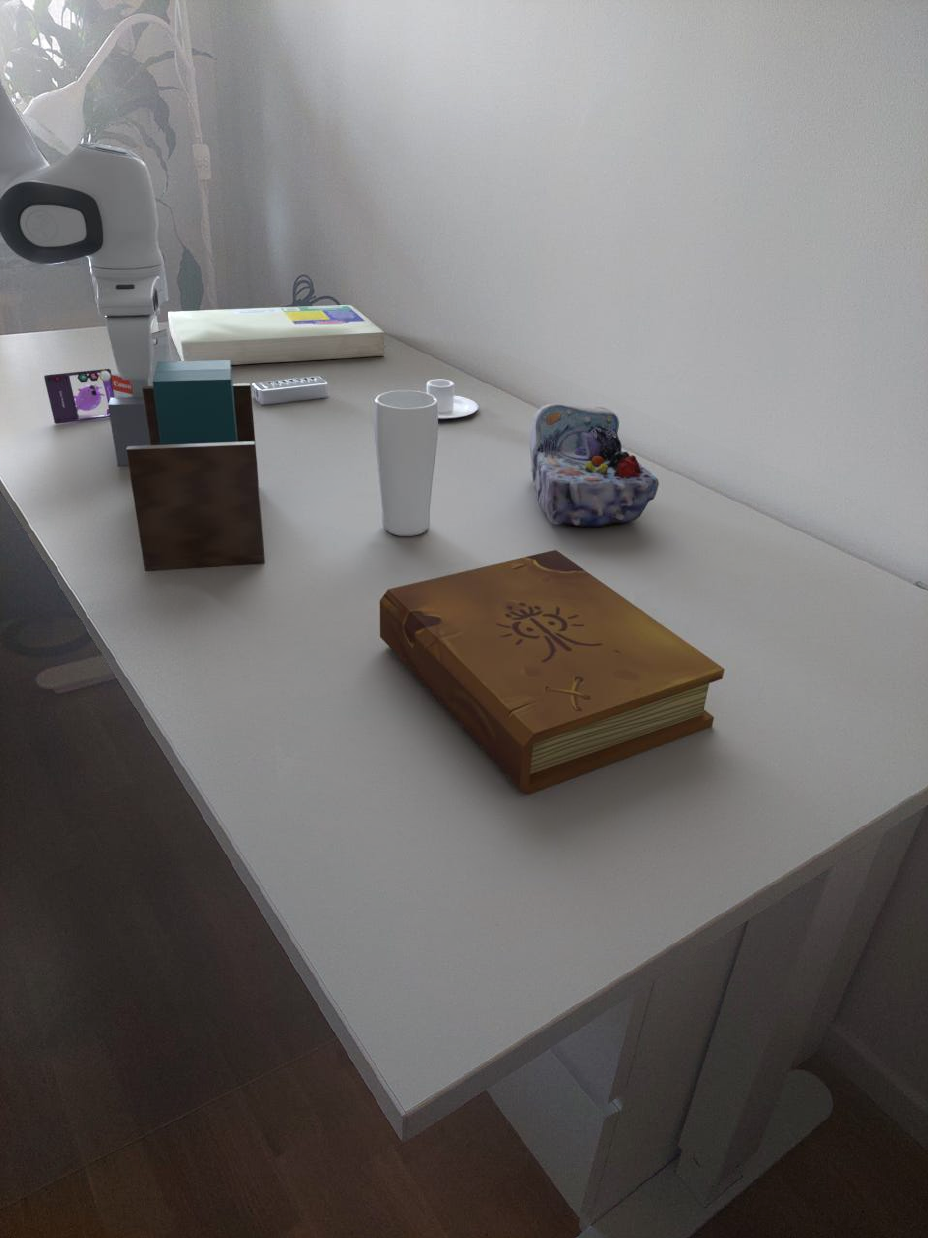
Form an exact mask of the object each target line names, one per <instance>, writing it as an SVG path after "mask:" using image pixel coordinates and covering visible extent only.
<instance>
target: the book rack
mask: <svg viewBox="0 0 928 1238" xmlns="http://www.w3.org/2000/svg"><path fill="white" fill-rule="evenodd" d="M142 390H143V397H144V404H145V411H146V418H147V425H148V432H149V439H150V445H144V446H127V449H126V451H127V458H128V464H129V465H128V469H129V476H130V481H131V490H132V495H133V502H134V503H133V504H134V509H135V515H136V521H137V529H138V534H139V542H140V547H141V554H142V560H143V566H144V571H145V572H150V571H166V570H179V569H194V568H195V569H196V568H210V567H226V566H227V567H228V566H242V565H243V566H244V565H256V564H258V565H259V564H265V549H264V535H263V521H262V509H261V507H262V506H261V495H260V483H259V482H260V480H259V467H258V457H257V456H258V455H257V446H256V445H257V444H256V433H255V421H254V420H255V419H254V409H253V396H252V384H251V382H250V383H249V382H244V383H238V382H237V383H233V392H234V403H235V414H236V424H237V435H238V442H220V443H195V444H170V445H161V442H160V434H159V427H158V419H157V412H156V404H155V397H154V390H153V386H143V389H142Z"/></svg>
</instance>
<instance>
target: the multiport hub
mask: <svg viewBox="0 0 928 1238" xmlns="http://www.w3.org/2000/svg"><path fill="white" fill-rule="evenodd" d="M328 385H329V384H328V382H327V381H326V380H325V379H323V378H322V377H321V376H319V375H314V376H307V377H306V376H305V377H296V378H285V379H277V380H267V381H258V382H253V383H252V393H253V399H254V400H255V401H256V402H258V403H259V405H261V406H267V405H275V404H284V403H292V402H300V401H301V402H302V401H310V400H317V399H326V398H328V397H329V386H328Z"/></svg>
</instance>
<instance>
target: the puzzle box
mask: <svg viewBox="0 0 928 1238" xmlns="http://www.w3.org/2000/svg"><path fill="white" fill-rule="evenodd" d="M167 316H168V329H169V334H170V336H171V339H172V341H173V343H174V346H175V349H176V351H177V353H178V354H177V355H178V356H179V358H180V361H207V360H231V366H236V365H238V366H239V365H249V364H251V365H252V364H266V363H269V364H270V363H285V362H303V361H318V360H319V361H321V360H331V359H332V360H335V359H352V358H365V357H366V358H367V357H384V356H385V349H386V344H385V331H383V330H382V329H381V328H380V327H379V326H377V325H376V324H375V323H374V322H373V321H371V320H370V319H369V318H368V317H366V316H365V315H364V314H363V313H362V312H360V311H359V310H358V309H357V308H355V307H354V306H353V305H352V304H343V305H312V306H311V305H310V306H309V305H308V306H306V305H305V306H282V307H280V306H278V307H253V308H252V307H251V308H229V309H204V310H181V311H168V312H167Z"/></svg>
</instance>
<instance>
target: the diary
mask: <svg viewBox="0 0 928 1238" xmlns="http://www.w3.org/2000/svg"><path fill="white" fill-rule="evenodd" d="M379 638H380V639H381V640H382V641H383V642H384V643H385V644H386V646H388V648H390V650H391V651H392V652H393V653H394V654H395V655H396V656H397V657H398V658H399V660H401V661H402V663H403V664H404V665H405V666H406V667H407V668H408V669H409V670H410V671H411V672H412V673H413V675H414V676H415V677H416V678H417V679H418V680H419V681H420V682H421V683H422V684H423V685H424V686H425V687H426V689H427V691H429V692H430V693H431V694H432V695H433V696H434V697H435V699H437V701H438V702H439V703H440V704H441V705H442V706H443V707H444V708H445V709H446V711H447V712H449V714H450V715H451V716H452V717H453V718H454V719H455V720H456V721H457V722H458V724H459V725H461V727H462V728H463V729H464V730H465V731H466V732H467V733H468V734H469V735H470V737H471V738H472V739H473V740H474V741H475V743H477V744H478V745H479V746H480V748H482V750H483V751H484V752H485V753H486V754H487V755H488V756H489V757H490V759H492V760H493V762H494V763H495V764H496V765H497V766H498V767H499V768H500V769H501V770H502V771H503V772H504V773H505V775H506V776H507V777H508V778H509V779H510V780H511V781H512V782H513V783H514V784H515V785H516V787H517V788H518V789H519V790H521V791H522V792H524V793H525V794H526V795H528V796H529V795H532V794H534V793H537V792H539V791H542V790H545V789H548V788H551V787H553V786H555V785H558V784H561V783H563V782H566V781H569V780H572V779H574V778H577V777H580V776H582V775H586V774H588V773H590V772H593V771H596V770H599V769H601V768H604V767H607V766H610V765H612V764H614V763H618V762H620V761H622V760H623V761H624V760H626V759H628V758H630V757H633V756H636V755H639V754H642V753H644V752H647V751H650V750H652V749H655V748H657V747H660V746H662V745H665V744H668V743H671V742H673V741H676V740H679V739H681V738H682V739H683V738H684V737H687V736H689V735H693V734H695V733H699V732H700V731H703V730H706V729H708V728H711V727H713V725H714V719H715V716H714V715H712V714H711V713H709V711H707V710H705V705H706V701H707V696H708V691H709V687H710V684H711V683H714V682H717V681H720V680H723V679H724V675H725V670H726V668H724V667H723V666H721V664H718V663H717V662H715V660H713V659H712V658H710V657H709V656H707V655H706V654H704V653H703V652H701V650H699V649H697V648H696V647H694V646H693V645H692V644H691V643H689V642H687V641H686V640H684V638H682V637H680V636H679V635H677V634H676V633H675V632H673V631H672V630H670V629H669V628H668V627H666V626H665V625H663V624H662V623H661V622H659V621H657V620H656V619H655V618H653V617H652V616H651V615H649V614H648V613H646V612H645V611H644V610H642V609H641V608H639V607H638V606H636V605H635V604H633V603H632V602H631V601H629V600H628V599H627V598H625V597H623V596H622V595H621V594H620V593H618V592H616V591H615V590H613V589H612V588H611V587H610V586H608V585H607V584H605V583H604V582H602V581H601V580H600V579H598V578H596V577H595V575H593V574H591V573H589V572H588V571H587V570H585V568H582V567H581V566H579V564H577V563H576V562H574V561H572V560H571V559H570V558H569V557H567V556H566V555H564V554H563V553H561V552H560V551H558V550H557V549H553V550H549V551H545V552H540V553H537V554H532V555H528V556H523V557H520V558H514V559H511V560H506V561H502V562H499V563H493V564H490V565H485V566H482V567H477V568H472V569H468V570H465V571H459V572H456V573H451V574H447V575H443V576H439V577H435V578H431V579H430V578H429V579H426V580H422V581H418V582H413V583H409V584H404V585H401V586H396V587H391V588H388V589H387V590H386V591H385V593H384V594H383V595H382V596H381V598H380V599H379Z"/></svg>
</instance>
